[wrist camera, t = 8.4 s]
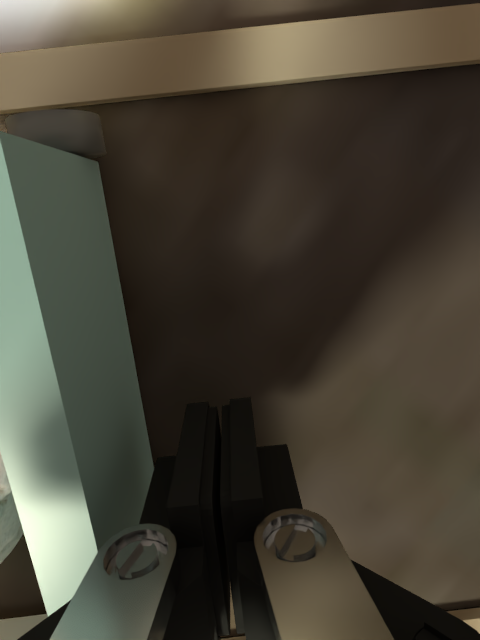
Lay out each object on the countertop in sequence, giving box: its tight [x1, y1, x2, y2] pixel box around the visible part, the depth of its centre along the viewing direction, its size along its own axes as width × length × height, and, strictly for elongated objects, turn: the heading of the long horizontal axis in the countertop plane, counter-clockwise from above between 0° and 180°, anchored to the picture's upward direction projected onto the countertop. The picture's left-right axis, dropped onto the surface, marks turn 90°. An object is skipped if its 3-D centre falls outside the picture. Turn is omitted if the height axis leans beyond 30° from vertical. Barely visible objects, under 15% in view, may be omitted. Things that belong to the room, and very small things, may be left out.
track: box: [0, 3, 480, 640], centre depth 13 cm, size 32×20×1 cm, turn 96°
